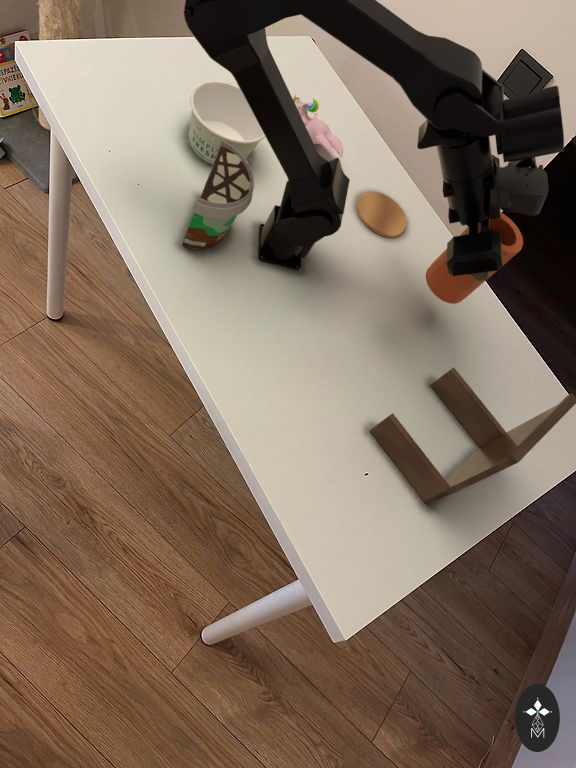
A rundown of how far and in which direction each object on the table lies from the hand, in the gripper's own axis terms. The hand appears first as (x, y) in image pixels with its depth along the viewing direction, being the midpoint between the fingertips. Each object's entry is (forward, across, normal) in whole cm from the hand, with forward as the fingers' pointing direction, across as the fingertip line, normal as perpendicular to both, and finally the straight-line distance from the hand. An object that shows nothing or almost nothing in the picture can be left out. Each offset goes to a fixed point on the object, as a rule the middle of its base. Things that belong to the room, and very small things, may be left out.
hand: (482, 260), depth 81 cm
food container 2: (-15, -2, +34) cm, 37 cm away
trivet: (+3, +16, +16) cm, 23 cm away
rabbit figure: (-8, +26, +27) cm, 39 cm away
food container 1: (-17, +15, +37) cm, 43 cm away
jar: (+4, 0, +6) cm, 7 cm away
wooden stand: (+11, -21, +8) cm, 25 cm away
